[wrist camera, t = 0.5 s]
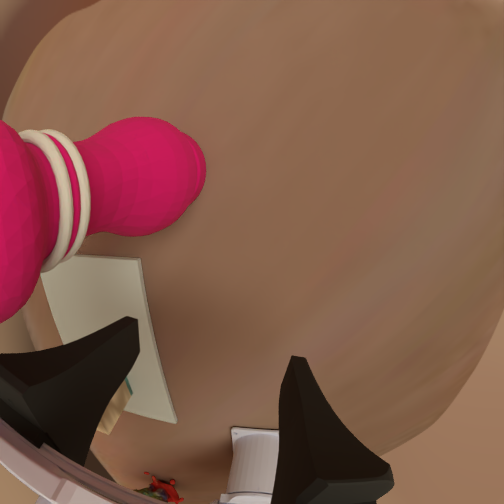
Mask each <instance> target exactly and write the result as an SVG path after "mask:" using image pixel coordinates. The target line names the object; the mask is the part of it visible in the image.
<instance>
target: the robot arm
mask: <svg viewBox="0 0 504 504" xmlns="http://www.w3.org/2000/svg"><path fill="white" fill-rule="evenodd" d="M139 353H140V341H139V327H138V319H136V318H133V317H129V316H125V317H123V318H121V319H119V320H117V321H115V322H113V323H111V324H110V325H108V326H106V327H104V328H102V329H100V330H98V331H96V332H94V333H91V334H89V335H87V336H85V337H82V338H80V339H78V340H75V341H73V342H70V343H67V344H64V345H61V346H58V347H54V348H50V349H46V350H41V351H35V352H28V353H17V354H16V353H11V354H3V353H1V354H0V463H1V464H2V465H3V466H4V467H5V468H6V469H7V470H8V471H9V472H11V473H12V474H13V475H14V476H15V477H16V478H18V479H19V480H20V481H21V482H22V483H24V484H25V485H26V486H28V487H29V488H30V489H31V490H33V491H34V492H35V493H37V494H38V495H39V498H38V500H37V501H36V503H35V504H118V503H116V502H113V501H111V500H109V499H107V498H105V497H103V496H101V495H99V494H97V493H95V492H93V491H91V490H89V489H87V488H85V487H83V486H82V484H83V485H85V486H87V487H89V488H91V489H93V490H95V491H97V492H99V493H101V494H103V495H105V496H107V497H109V498H111V499H113V500H115V501H118V502H120V503H122V504H170V503H167V502H163V501H160V500H157V499H154V498H152V497H149V496H146V495H143V494H141V493H138V492H135V491H133V490H130V489H128V488H126V487H123V486H121V485H119V484H116V483H114V482H112V481H110V480H108V479H105V478H104V477H102V476H99V475H97V474H96V473H93V472H92V471H90V470H88V469H86V468H84V464H85V460H86V457H87V454H88V451H89V447H90V445H91V442H92V439H93V437H94V434H95V432H96V429H97V427H98V425H99V422H100V420H101V418H102V416H103V414H104V412H105V410H106V408H107V406H108V404H109V402H110V400H111V399H112V397H113V396H114V394H115V393H116V391H117V390H118V388H119V387H120V385H121V384H122V382H123V381H124V380H125V378H126V377H127V375H128V374H129V372H130V371H131V369H132V368H133V366H134V364H135V362H136V360H137V357H138V355H139ZM231 434H232V444H233V453H234V455H233V460H232V465H231V470H230V475H229V480H228V485H227V490H226V494H221V497H220V500H218V499H216V500H214V501H213V502H211V503H210V504H376V500H377V499H379V498H380V497H382V496H383V495H385V494H386V493H387V492H388V491H390V490H391V489H392V488H393V486H394V479H393V474H392V470H391V467H390V465H389V464H388V463H387V462H385V461H384V460H382V459H381V458H380V457H378V456H377V455H375V454H374V453H373V452H371V451H370V450H369V449H368V448H367V447H366V446H364V445H363V444H362V443H361V442H360V441H359V440H358V439H357V438H356V437H355V436H354V435H353V434H352V433H351V432H350V431H349V430H348V429H347V428H346V426H345V425H344V424H343V423H342V422H341V420H340V419H339V418H338V416H337V415H336V414H335V412H334V411H333V409H332V408H331V406H330V405H329V403H328V402H327V400H326V398H325V397H324V395H323V393H322V391H321V389H320V387H319V386H318V384H317V382H316V380H315V378H314V376H313V374H312V371H311V369H310V367H309V365H308V362H307V360H306V358H304V357H298V356H291V359H290V362H289V365H288V367H287V370H286V373H285V376H284V379H283V381H282V384H281V389H280V397H279V430H262V429H249V428H239V427H233V428H232V429H231ZM74 479H75V480H74ZM77 481H78V482H77ZM79 482H80V483H82V484H80V483H79Z"/></svg>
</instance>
